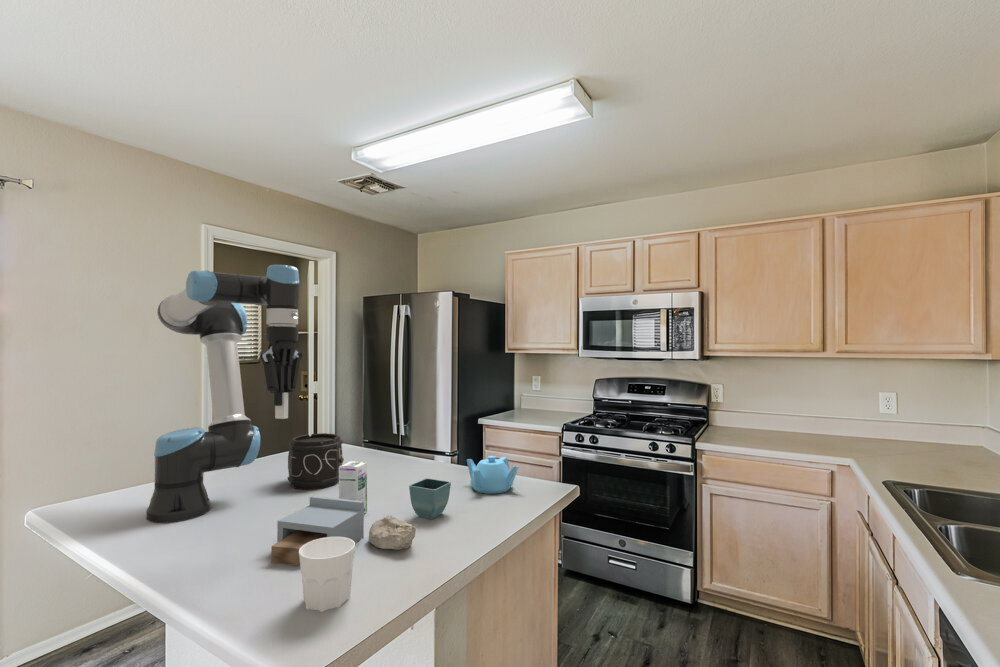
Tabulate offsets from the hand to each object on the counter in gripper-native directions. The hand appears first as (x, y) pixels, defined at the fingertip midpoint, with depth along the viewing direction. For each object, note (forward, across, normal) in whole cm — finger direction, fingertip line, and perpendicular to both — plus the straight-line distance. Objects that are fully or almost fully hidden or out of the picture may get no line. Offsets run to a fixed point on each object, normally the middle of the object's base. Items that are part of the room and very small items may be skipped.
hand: (281, 418), depth 125 cm
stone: (+30, +1, -30) cm, 42 cm away
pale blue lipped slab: (+29, -3, -14) cm, 33 cm away
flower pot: (+30, +23, -31) cm, 49 cm away
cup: (+30, -24, -31) cm, 49 cm away
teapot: (+30, +52, -40) cm, 72 cm away
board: (+30, -7, -13) cm, 33 cm away
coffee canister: (+30, +41, +20) cm, 54 cm away
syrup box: (+30, +17, -10) cm, 36 cm away
